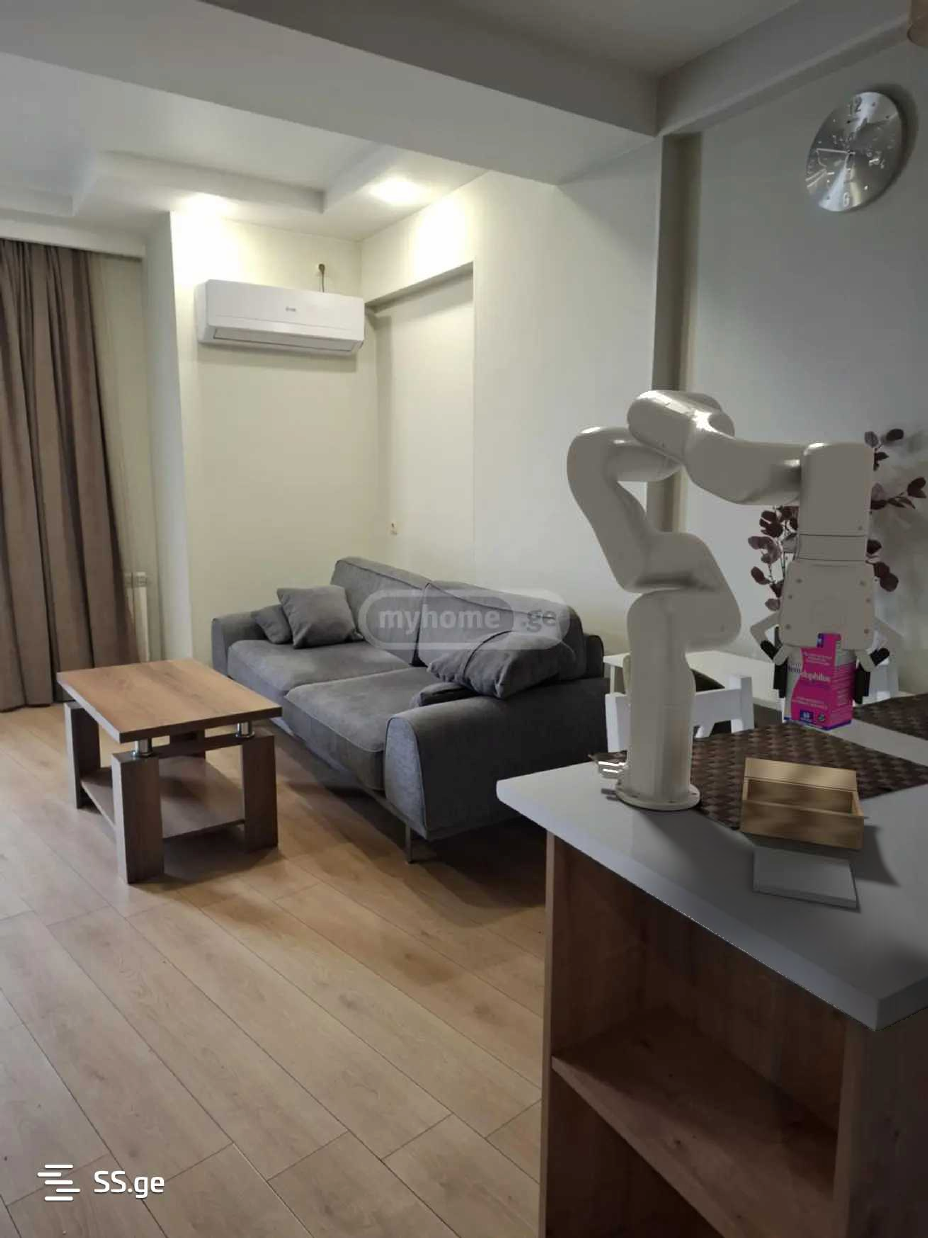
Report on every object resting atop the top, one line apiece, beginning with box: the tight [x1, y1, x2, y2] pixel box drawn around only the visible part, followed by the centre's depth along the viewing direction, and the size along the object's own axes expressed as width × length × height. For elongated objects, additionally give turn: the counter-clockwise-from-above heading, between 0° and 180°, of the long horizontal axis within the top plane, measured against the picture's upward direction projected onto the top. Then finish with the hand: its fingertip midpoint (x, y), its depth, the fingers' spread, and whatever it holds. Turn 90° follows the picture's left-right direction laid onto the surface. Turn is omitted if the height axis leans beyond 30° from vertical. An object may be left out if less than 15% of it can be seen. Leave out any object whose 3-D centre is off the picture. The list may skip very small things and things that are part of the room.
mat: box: [752, 845, 857, 910], centre depth 101 cm, size 11×11×1 cm
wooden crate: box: [739, 757, 870, 851], centre depth 116 cm, size 15×19×6 cm
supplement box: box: [782, 633, 858, 732], centre depth 99 cm, size 6×6×12 cm
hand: (819, 698), depth 99 cm, fingers closed on supplement box, 7 cm apart
